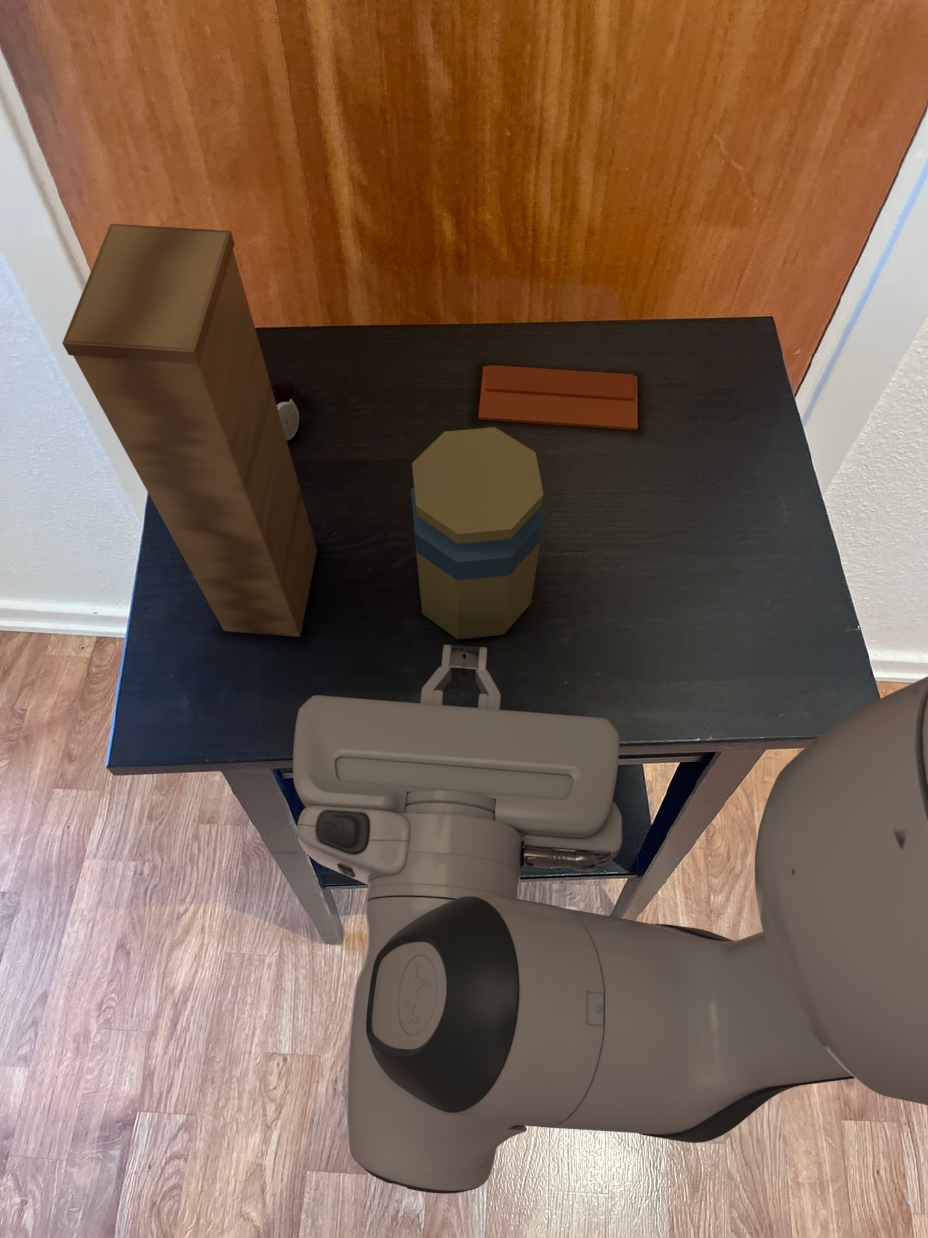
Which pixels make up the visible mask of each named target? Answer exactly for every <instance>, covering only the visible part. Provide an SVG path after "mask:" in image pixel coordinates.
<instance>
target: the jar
mask: <svg viewBox="0 0 928 1238" xmlns="http://www.w3.org/2000/svg"><path fill="white" fill-rule="evenodd" d="M538 464H539V462H538V457H537V452H536V451H534V450H533V449H531V448H529V447H528V446H526V445H525V444H523V443H521V442H520V441H518V440H517V439H515V438H513V437H512V436H510V435H508V434H507V433H505V432H503V431H502V430H500V429H499V428H497V427H495V426H492V427H483V428H469V429H459V430H447V431H443V433H441V434H440V435H439V436H438V437H437V438H436V439H435V440H434V441H433V442H432V443H431V444H430V445H429V446H428V447H427V448H426V449H425V450H424V451H423V452H422V453H421V454H420V455H419V456H418V457H416V459H415V460H414V461H413V462H412V463H411V468H412V478H413V487H412V488H411V489H410V496H411V509H412V519H413V521H412V522H413V530H414V541H415V542H414V543H415V553H416V554H415V555H416V564H417V574H418V575H417V576H418V586H419V595H420V596H419V597H420V605H421V614H422V616H425V618H428V619H429V620H430V621H431V622H433V623H434V624H435V625H437V626H439V627H440V628H441V629H443V630H444V631H446V632H447V633H448V634H449V635H450V636H452V637H453V638H455V639H457V640H467V639H476V638H484V637H485V638H486V637H496V636H504V635H505V634H506V633H507V632H508V631H509V629H510V628H511V627H512V626H513V625H514V623H516V621H517V620H518V619H519V618H520V617H521V615H523V613H524V612H525V611H526V610H527V609H528V607H530V605H531V604H532V599H533V594H534V593H533V592H534V587H535V579H536V573H537V566H538V559H539V553H540V548H541V547H540V546H541V539H542V534H543V526H544V517H543V512H542V507H541V506H542V505H543V501H544V489H543V485H542V479H541V478H542V477H541V474H540V469H539V465H538Z"/></svg>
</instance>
